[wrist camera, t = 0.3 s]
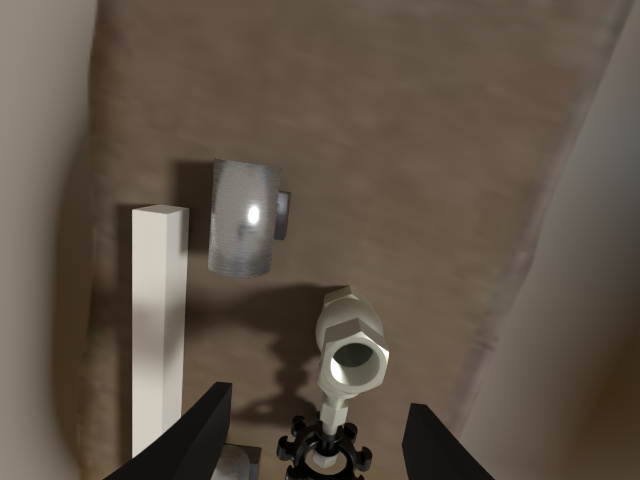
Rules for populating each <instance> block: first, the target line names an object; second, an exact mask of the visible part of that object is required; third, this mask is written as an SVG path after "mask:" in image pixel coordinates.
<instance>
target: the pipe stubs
mask: <svg viewBox="0 0 640 480" xmlns="http://www.w3.org/2000/svg"><path fill="white" fill-rule="evenodd" d="M280 177H281V168H279V167H272V166H265V165H258V164H251V163H244V162H236V161H229V160H222V159H215V158H214V170H213V188H212V205H211V223H210V240H209V257H208V268H209V269H210V270H211V271H213V272H215V273H218V274H221V275H225V276H231V277H256V276H261V275H264V274H266V273H268V272H269V271H270V270H271V262H272V252H273V243H274V239H278V240H284V238H285V237H286V231H287V223H288V214H289V205H290V197H291V192H285V191H279V186H280ZM261 450H262V448H255V447H247V446H238V445H230V444H224V446H223V449H222V453H221V456H220V458H219V461H218V463H217V466H216V468H215V471H214V473H213V475H212V478H211V480H258V476H259V467H260V458H261Z"/></svg>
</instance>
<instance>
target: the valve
mask: <svg viewBox="0 0 640 480" xmlns="http://www.w3.org/2000/svg"><path fill="white" fill-rule="evenodd" d="M316 341H317V345H318V347H319V350H320V352H321V362H320V363H319V368H318V373H317V383H318V385H319V387H320V388H321V389H322V390H323V391H324V392H323V396H322V401H321V406H320V413H319V414H318V418H317V423H316V425H311V426H308V427H307V426H306V425H305V418H304V417H303V416H296V417H294V418H293V420H292V426H291V434H292V435H293V436H294V437H296V439H295V441H294V442H288V441H287V439H288V436H283V437H281V438H280V439H279V441H278V446H277V457H278V458H279V459H280V460H282V461H287V460H289V459H290V460H291V461H292V462H293V465H294V468H292V466H291V465H289V466H288V468H287V471H286V477H285V480H364V477H363V476H362V475H360V476H359V477H358V478H357V477H356V476H355V475H354V471H355V470H356V469H358V470H360V471H362V472H365V471H368V470H369V468H370V464H371V460H372V453H371V451H370V450H369V449H368V448H367V447H364V446H363V447H362V451H360V452H357V451H355V448H354V446H353V444H354V443H355V440H356V436H357V432H358V430H357V427H356V426H355V425H354V424H352V423H345V420H346V415H347V410H348V400H347V399H349V398H353V397H355V396H357V395H358V394H359V393H360V392H364V391H367V390H370V389H372V388H374V387H377V386H379V385H380V384H382V381H383V379H384V375H385V372H386V367H387V362H388V356H389V351H388V348H387V345H386V343H385V340H384V338H383V328H382V324H381V321H380V319H379V317H378V315H377V314H376V312H375V311H374V310H373V309H372V306H371V303H370V301H369V300H368V299H366V298H365V297H364V296H362V295H361V294H360V293H359V292H357V291H356V290H355V289H354V288H352V287H351V286H347V287H344V288H341V289H338V290H336V291H333V292H330V293H327V294H325V297H324V302H323V308H322V313H321V314H320V316H319V318H318V321H317V325H316ZM343 423H345V424H344V429H343V428H342V426H341V425H342V424H343ZM312 449H313V461H314V462H315V463H316V464H318V465H319V466H321V467H323V468H327V467H330V466H332V465H334V464H335V463H336V458H337V456H338V455H339V452H341V453H343V454H344V455H345V457H346V459H347V463H346V467H345V468H344V469H343V470H342V471H341V472H339V473H337V474H334V475H324V474H320V473H317V472H315V471H314V470H312V469H311V468H310V467H309V466H308V465H307V464H306V463H305V459H306V455H307V453H308V452H309V451H310V450H312Z"/></svg>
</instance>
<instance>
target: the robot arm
mask: <svg viewBox="0 0 640 480" xmlns="http://www.w3.org/2000/svg"><path fill="white" fill-rule="evenodd" d="M231 395H232V383H225V382H216V383H214V384H213V385H212V387H211V388H210V389H209V390H208V391H207V392H206V393H205V394H204V395H203V396H202V397H201V398H200V399H199V400H198V401H197V402H196V403H195V404H194V405H193V406H192V407H191V408H190V409H189V410H188V411H187V412H186V413H185V414H184V415H183V416H182V417H181V418H180V419H179V420H178V421H177V422H176V423H174V424H173V425H172V426H171V427H170V428H169V429H168V430H167V431H165V432H164V433H163V434H162V435H161V436H160V437H159V438H157V439H156V440H155V441H154V442H153V443H151V444H150V445H149V446H148V447H147V448H145V449H144V450H143V451H142V452H140V453H139V454H138V455H136V456H135V457H134V458H132V459H131V460H130V461H128V462H127V463H126V464H124V465H123V466H122V467H120V468H119V469H117V470H116V471H114V472H113V473H112V474H110V475H109V476H107V477H106V478H104V479H103V480H211V478H212V475H213V473H214V471H215V468H216V466H217V463H218V461H219V458H220V456H221V453H222V449H223V446H224V443H225V440H226V436H227V433H228V429H229V424H230V410H231ZM402 449H403V454H404V460H405V465H406V470H407V474H408V478H409V480H495V479H494V478H493V477H492V476H491V475H490V474H489V473H488V472H487V471H486V470H485V469H484V468H483V467H482V466H481V465H480V464H479V463H478V462H477V461H476V460H475V459H474V458H473V457H472V456H471V455H470V454H469V452H467V450H466V449H465V448H464V447H463V446H462V445H461V444H460V443H459V442H458V440H457V439H456V438H455V437H454V436H453V435H452V434H451V432H450V431H449V430H448V429H447V428H446V427H445V426H444V424H443V423H442V422H441V421H440V420H439V419H438V418H437V416H436V415H435V414H434V413H433V412H432V411H431V410H430V408H429V407H428V406H427V405H424V404H415V403H411V406H410V411H409V415H408V420H407V424H406V429H405V433H404V438H403V442H402Z"/></svg>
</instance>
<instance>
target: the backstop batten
mask: <svg viewBox="0 0 640 480" xmlns="http://www.w3.org/2000/svg"><path fill="white" fill-rule="evenodd" d="M188 231H189V208H184V207H176V206H169V205H162V204H159V205H153V206H148V207H143V208H138V209H132V458H134V457H135V456H136V455H138V454H139V453H140V452H142V451H143V450H144V449H145V448H147V447H148V446H149V445H150V444H151V443H153V442H154V441H155V440H156V439H157V438H159V437H160V436H161V435H162V434H163V433H164V432H165V431H167V430H168V429H169V428H170V427H171V426H172V425H173V424H174V423H176V422H177V421H178V420H179V419H180V418H181V400H182V376H183V352H184V328H185V304H186V279H187V255H188Z"/></svg>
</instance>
